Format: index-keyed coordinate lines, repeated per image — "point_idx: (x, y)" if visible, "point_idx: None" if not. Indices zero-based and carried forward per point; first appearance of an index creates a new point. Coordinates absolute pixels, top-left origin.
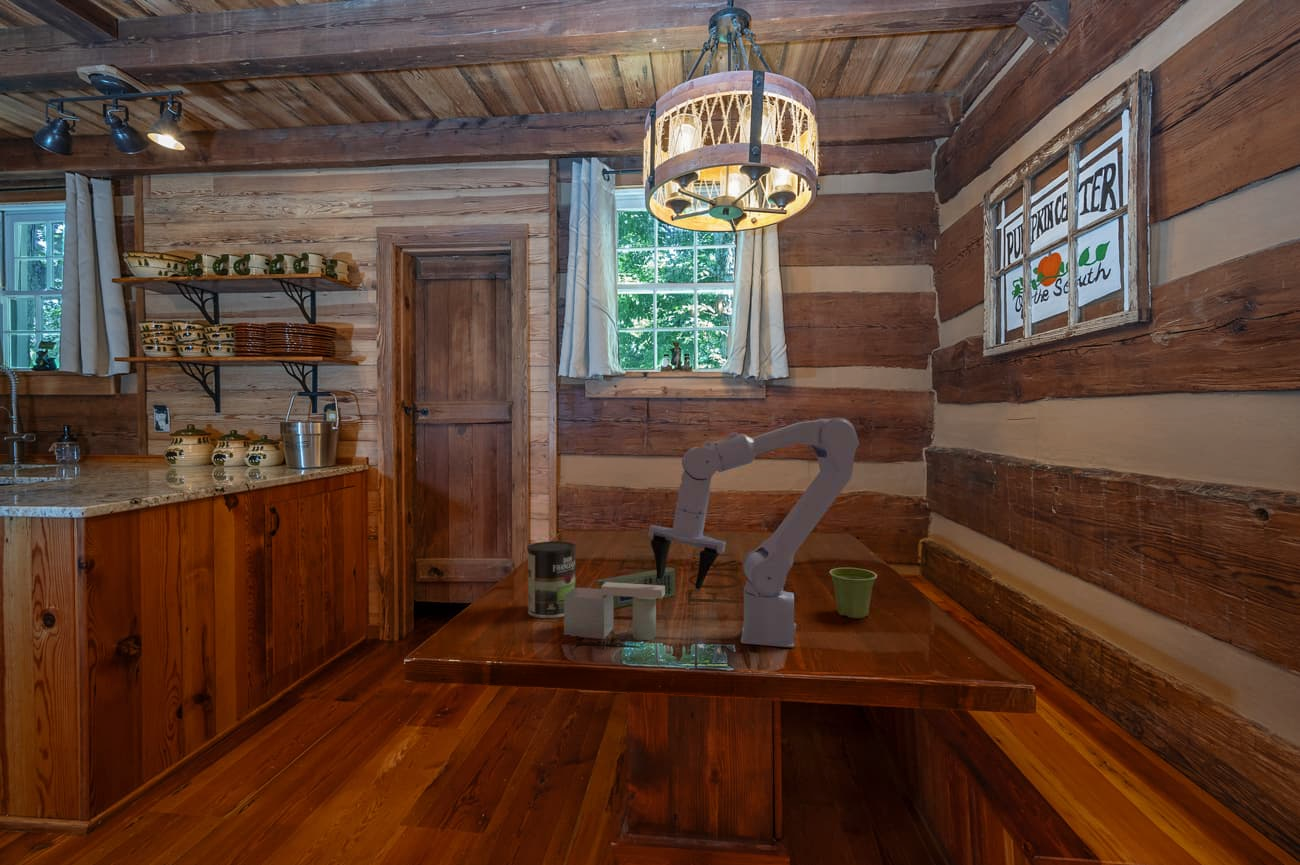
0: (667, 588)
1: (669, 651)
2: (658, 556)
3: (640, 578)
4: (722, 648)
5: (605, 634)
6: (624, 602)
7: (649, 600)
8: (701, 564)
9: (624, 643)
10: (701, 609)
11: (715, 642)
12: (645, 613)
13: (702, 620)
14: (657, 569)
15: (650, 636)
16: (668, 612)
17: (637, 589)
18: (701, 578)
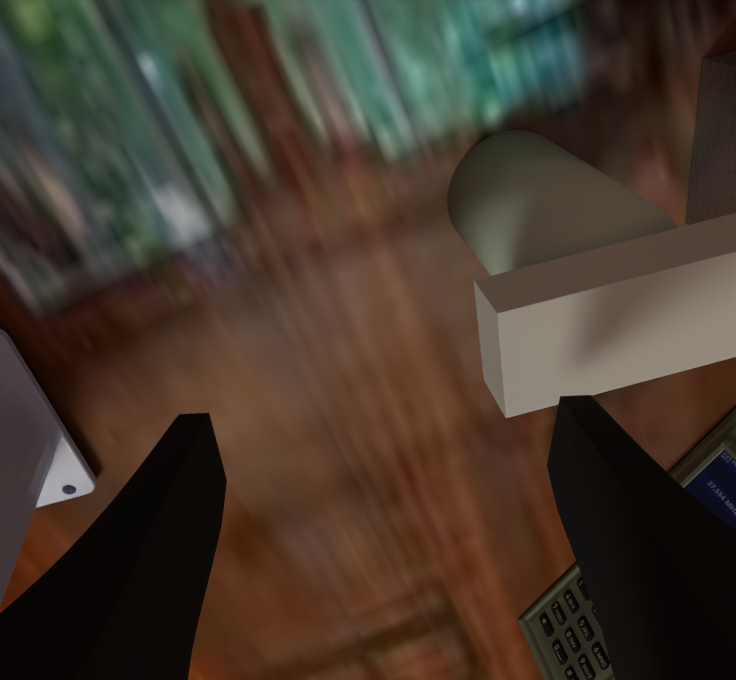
0: (557, 629)
1: (302, 54)
2: (704, 551)
3: None
4: (57, 231)
5: (710, 87)
6: (698, 463)
7: None
8: (81, 612)
9: (580, 50)
10: (370, 566)
11: (134, 287)
12: (544, 190)
13: (318, 479)
14: (626, 441)
15: (466, 166)
16: (490, 484)
17: (696, 259)
18: (126, 484)
